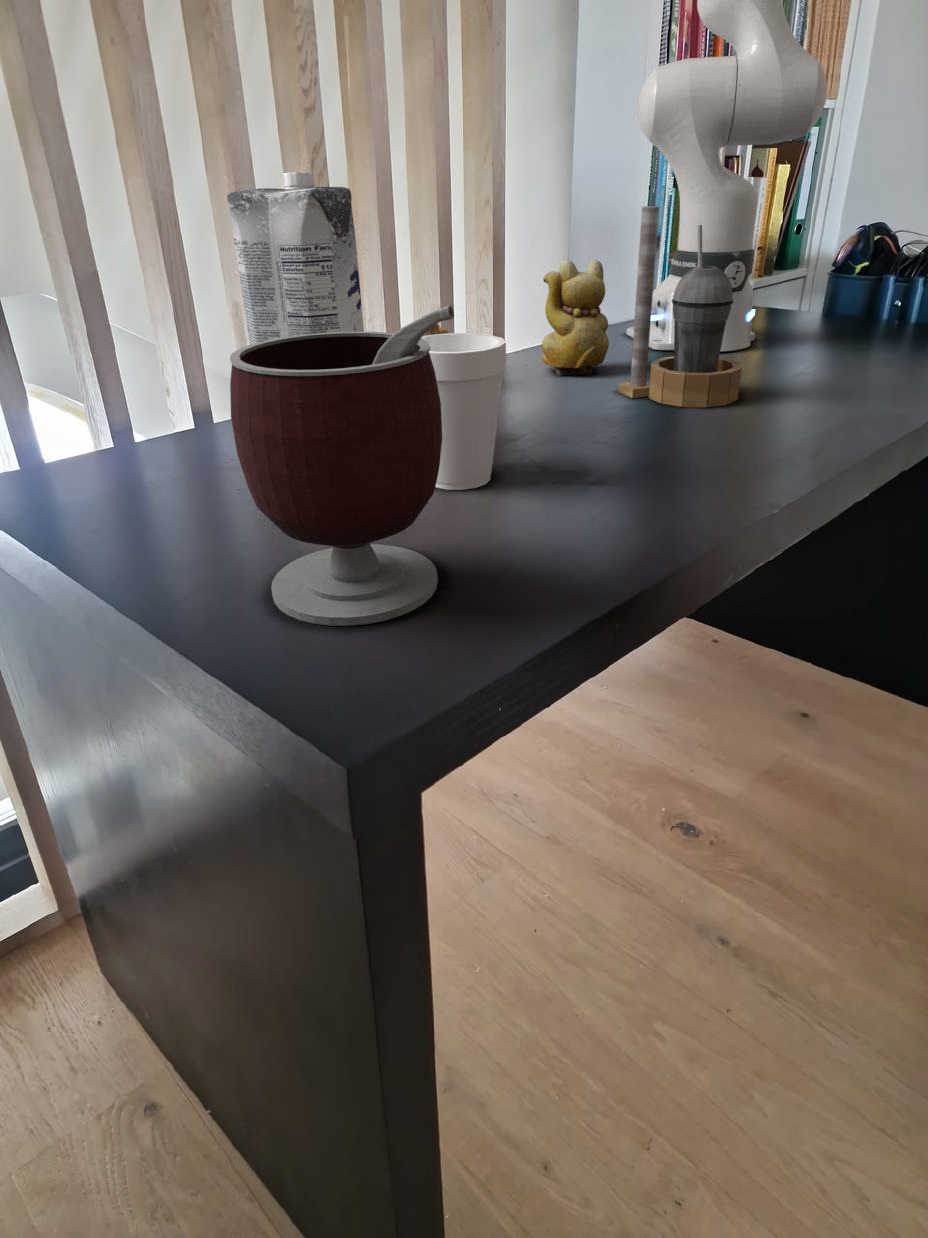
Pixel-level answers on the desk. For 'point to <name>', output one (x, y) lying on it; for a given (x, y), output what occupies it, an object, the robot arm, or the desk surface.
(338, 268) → the juice carton
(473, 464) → the foam cup
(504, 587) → the desk surface
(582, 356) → the decorative figurine
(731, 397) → the holder
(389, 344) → the mate gourd
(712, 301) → the beverage cup
